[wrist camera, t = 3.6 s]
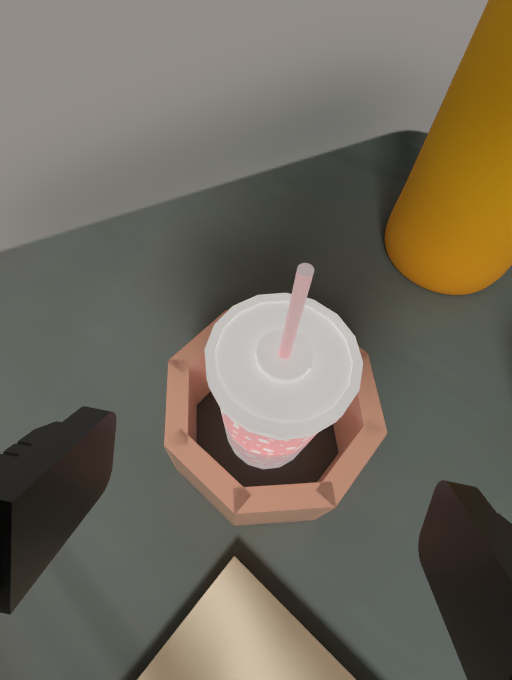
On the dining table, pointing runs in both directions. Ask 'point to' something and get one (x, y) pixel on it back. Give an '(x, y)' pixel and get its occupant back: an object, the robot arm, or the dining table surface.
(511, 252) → the beer bottle
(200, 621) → the wooden coaster
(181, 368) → the ceramic ring
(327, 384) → the beverage cup
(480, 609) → the robot arm
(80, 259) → the dining table surface
